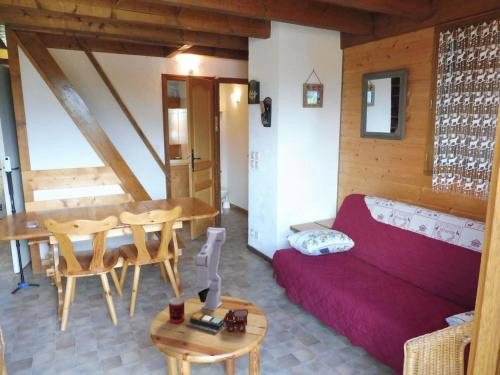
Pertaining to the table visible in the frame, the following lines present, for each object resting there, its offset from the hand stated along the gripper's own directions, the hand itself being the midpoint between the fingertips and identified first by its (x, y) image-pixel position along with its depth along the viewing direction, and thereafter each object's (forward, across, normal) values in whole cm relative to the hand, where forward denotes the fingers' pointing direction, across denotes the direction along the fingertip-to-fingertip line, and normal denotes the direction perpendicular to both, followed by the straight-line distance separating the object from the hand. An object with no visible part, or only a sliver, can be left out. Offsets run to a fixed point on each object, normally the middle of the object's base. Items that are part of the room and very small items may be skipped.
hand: (203, 302), depth 195 cm
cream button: (+8, +3, +4) cm, 10 cm away
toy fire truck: (+10, 0, +19) cm, 21 cm away
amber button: (+8, +3, -2) cm, 9 cm away
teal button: (+8, +3, +9) cm, 13 cm away
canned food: (+10, +6, -12) cm, 17 cm away
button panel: (+10, +3, +4) cm, 11 cm away
